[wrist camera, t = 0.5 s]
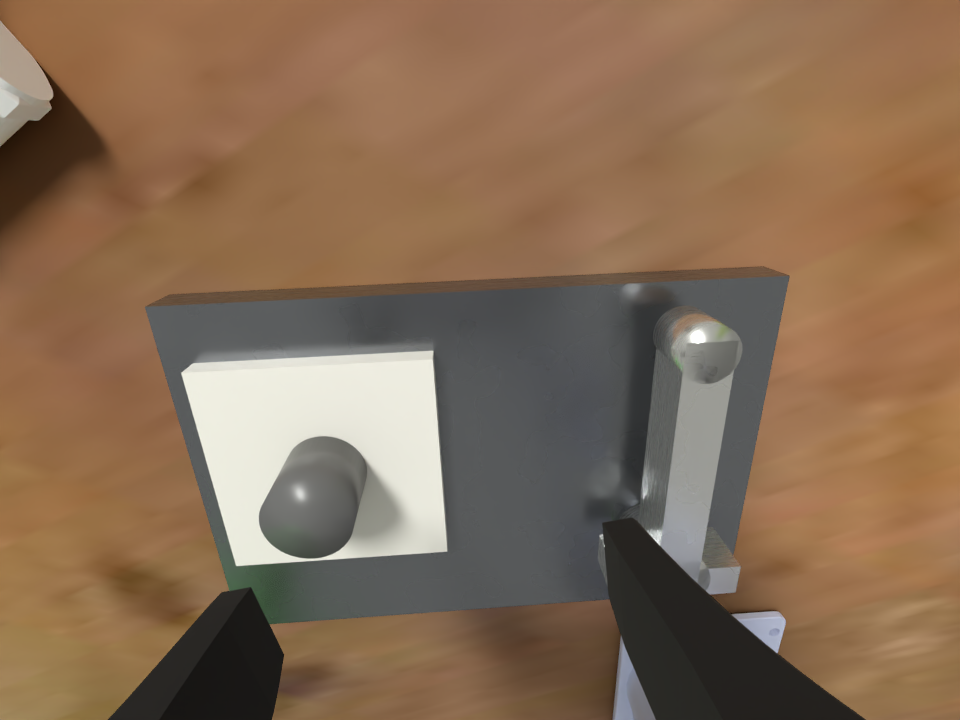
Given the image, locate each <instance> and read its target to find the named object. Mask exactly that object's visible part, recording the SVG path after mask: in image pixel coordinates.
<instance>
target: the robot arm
mask: <svg viewBox="0 0 960 720" xmlns="http://www.w3.org/2000/svg"><path fill="white" fill-rule="evenodd" d="M602 527H603V538H604V550H605V561H606V572H607V584H608V595H609V599H610V602H611V605H612V608H613V611H614V615H615V618H616V621H617V624H618V627H619V630H620V633H621V640H620V649H619V659H618V669H617V679H616V689H615V699H614V709H613V719H612V720H866V719H864V718H863V717H861V716H860V715H859V714H857V713H856V712H854V711H853V710H852V709H850V708H849V707H847V706H846V705H845V704H843V703H842V702H841V701H839V700H838V699H836V698H835V697H834V696H832V695H831V694H829V693H828V692H827V691H825V690H824V689H823V688H821V687H820V686H819V685H817V684H816V683H815V682H813V681H812V680H811V679H810V678H808V677H807V676H806V675H804V674H803V673H802V672H800V671H799V670H798V669H796V668H795V667H794V666H793V665H791V664H790V663H789V662H787V661H786V660H785V659H784V658H782V657H781V656H780V655H779V654H778V650H779V646H780V642H781V639H782V635H783V631H784V628H785V624H786V620H785V619H784V617H783V616H782V614H781V613H780V612H778V611H768V612H754V613H741V614H730V613H729V612H728V611H727V610H726V609H725V608H724V607H722V606H721V605H720V604H719V603H718V602H717V601H716V600H715V599H714V598H713V597H712V596H711V595H710V594H708V593H707V592H706V591H705V590H704V589H703V588H702V587H701V586H700V585H699V584H698V583H697V582H696V581H695V580H694V579H692V578H691V577H690V576H689V575H688V574H687V573H686V572H685V571H684V570H683V569H682V568H681V567H680V566H679V565H678V564H677V563H676V562H675V561H674V560H673V559H672V558H671V557H670V556H669V555H668V554H667V553H666V551H665V550H664V549H663V548H662V547H661V546H660V545H659V544H658V543H657V542H656V541H655V540H654V539H653V538H652V537H651V536H650V534H649V533H648V532H647V531H646V530H645V529H644V528H643V527H642V526H641V524H640V523H639V522H638V521H637V520H635V519H634V518H632V517H631V518H626V519H620V520H615V521H609V522H604V523H602ZM283 658H284V654H283V652H282V650H281V648H280V646H279V644H278V641H277V639H276V637H275V635H274V633H273V631H272V629H271V627H270V625H269V623H268V621H267V619H266V617H265V615H264V613H263V610H262V608H261V606H260V604H259V602H258V600H257V598H256V596H255V594H254V592H253V590H252V588H251V587H248V588H243V589H237V590H232V591H227V592H222V593H221V594H220V595H219V596H218V597H217V598H216V599H215V600H214V601H213V602H212V603H211V604H210V605H209V607H208V608H207V609H206V610H205V611H204V612H203V613H202V614H201V616H200V617H199V618H198V619H197V620H196V621H195V622H194V624H193V625H192V626H191V627H190V628H189V629H188V630H187V632H186V633H185V634H184V635H183V636H182V637H181V638H180V640H179V641H178V642H177V643H176V644H175V645H174V646H173V648H172V649H171V650H170V651H169V652H168V653H167V655H166V656H165V657H164V658H163V659H162V660H161V661H160V662H159V664H158V665H157V666H156V667H155V668H154V669H153V670H152V671H151V673H150V674H149V675H148V676H147V677H146V678H145V679H144V681H143V682H142V683H141V684H140V685H139V686H138V687H137V688H136V690H135V691H134V692H133V693H132V694H131V695H130V696H129V697H128V699H127V700H126V701H125V702H124V703H123V704H122V705H121V706H120V707H119V708H118V709H117V710H116V712H115V713H114V714H113V715H112V716H111V717H110V718H109V719H108V720H272V716H273V713H274V708H275V703H276V698H277V693H278V688H279V682H280V676H281V670H282V664H283Z"/></svg>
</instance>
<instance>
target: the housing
mask: <svg viewBox="0 0 960 720" xmlns="http://www.w3.org/2000/svg"><path fill="white" fill-rule="evenodd" d="M788 281H789V275H786V274H783V273H780V272H777V271H775V270H772V269H769V268H766V267H744V268H723V269H702V270H681V271H659V272H638V273H617V274H596V275H575V276H554V277H533V278H511V279H490V280H469V281H448V282H427V283H406V284H385V285H363V286H342V287H321V288H300V289H279V290H258V291H237V292H215V293H194V294H173V295H168V296H166V297H164V298H162V299H160V300H158V301H156V302H154V303H152V304H150V305H148V306H146V307H145V309H146V312H147V315H148V319H149V322H150V325H151V329H152V332H153V335H154V339H155V342H156V345H157V349H158V352H159V356H160V359H161V362H162V366H163V369H164V372H165V376H166V379H167V382H168V386H169V389H170V392H171V396H172V399H173V402H174V406H175V409H176V413H177V416H178V419H179V423H180V426H181V429H182V433H183V436H184V439H185V443H186V446H187V449H188V453H189V456H190V459H191V463H192V466H193V470H194V473H195V476H196V480H197V483H198V486H199V490H200V493H201V496H202V500H203V503H204V506H205V510H206V513H207V517H208V520H209V523H210V527H211V530H212V533H213V537H214V540H215V543H216V547H217V550H218V553H219V557H220V560H221V563H222V567H223V570H224V574H225V577H226V580H227V584H228V587H229V590H230V591H232V590H237V589H243V588H248V587H251V588H252V590H253V592H254V594H255V596H256V598H257V600H258V602H259V604H260V606H261V608H262V610H263V613H264V615H265V617H266V619H267V621H268V623H269V624H277V623H291V622H304V621H318V620H332V619H345V618H359V617H373V616H386V615H400V614H414V613H428V612H441V611H455V610H469V609H482V608H496V607H510V606H524V605H537V604H551V603H565V602H578V601H592V600H606V599H609V595H608V586H607V583H606V581H605V578H604V575H603V573H602V570H601V567H600V564H599V562H598V546H599V535H602V534H603V527H602V523H604V522H609V521H615V520H618V519H619V518H620V516H621V515H622V514H623V512H625V511H626V510H627V509H628V508H629V507H631V506H633V505H635V504H638V503H640V498H641V489H642V479H643V470H644V460H645V451H646V441H647V432H648V423H649V413H650V404H651V394H652V385H653V375H654V366H655V356H656V346H655V344H654V340H653V332H654V328H655V326H656V323H657V322H658V320H659V319H660V317H661V316H662V315H663V314H664V313H666V312H667V311H668V310H670V309H672V308H674V307H677V306H682V305H689V306H694V307H696V308H698V309H700V310H701V311H703V312H705V313H706V314H708V315H710V316H711V317H713V318H714V319H716V320H718V321H719V322H721V323H723V324H724V325H726V326H727V327H729V328H731V329H732V330H734V331H735V332H736V333H737V334H738V336H739V337H740V339H741V342H742V355H741V359H740V361H739V363H738V365H737V367H736V368H735V369H734V373H733V379H732V385H731V390H730V396H729V402H728V408H727V414H726V420H725V425H724V431H723V437H722V443H721V449H720V455H719V460H718V466H717V472H716V478H715V484H714V490H713V495H712V501H711V507H710V513H709V519H708V525H707V527H713V528H714V529H715V531H716V532H717V534H718V535H719V536H720V538H721V539H722V541H723V542H724V543H725V545H726V546H727V548H728V549H729V550H730V552H731V553H732V555H733V554H734V549H735V544H736V539H737V534H738V529H739V524H740V519H741V514H742V509H743V504H744V499H745V494H746V489H747V484H748V479H749V474H750V469H751V464H752V459H753V454H754V450H755V445H756V440H757V435H758V430H759V425H760V420H761V415H762V410H763V405H764V400H765V395H766V390H767V385H768V380H769V375H770V370H771V365H772V360H773V355H774V350H775V345H776V340H777V335H778V330H779V325H780V320H781V315H782V311H783V306H784V301H785V296H786V291H787V286H788ZM416 351H434V364H435V378H436V391H437V404H438V418H439V431H440V444H441V458H442V471H443V484H444V498H445V511H446V525H447V552H435V553H421V554H406V555H391V556H377V557H362V558H347V559H333V560H318V561H304V562H289V563H274V564H260V565H245V566H236V564H235V560H234V557H233V553H232V550H231V546H230V543H229V539H228V536H227V532H226V529H225V525H224V522H223V518H222V515H221V511H220V508H219V504H218V501H217V497H216V494H215V490H214V487H213V483H212V480H211V476H210V473H209V469H208V466H207V462H206V459H205V455H204V452H203V448H202V444H201V441H200V437H199V434H198V430H197V427H196V423H195V420H194V416H193V413H192V409H191V406H190V402H189V399H188V395H187V392H186V388H185V385H184V381H183V378H182V374H181V373H182V372H183V371H184V370H185V369H187V368H188V367H189V366H190V365H191V364H193V363H207V362H226V361H245V360H264V359H283V358H302V357H321V356H340V355H359V354H378V353H397V352H416Z"/></svg>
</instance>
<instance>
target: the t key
mask: <svg viewBox="0 0 960 720" xmlns="http://www.w3.org/2000/svg"><path fill="white" fill-rule="evenodd" d="M653 340H654V344H655V346H656V356H655V366H654V375H653V385H652V394H651V404H650V413H649V423H648V432H647V441H646V451H645V460H644V470H643V479H642V489H641V498H640V503H638V504H635V505H633V506H631V507H629V508H628V509H627V510H626V511H625V512H623V514H622V515H621V516H620V518H619V519H618V520H620V519H626V518H631V517H632V518H634V519H635V520H637V521H638V522H639V523H640V524H641V526H642V527H643V528H644V529H645V530H646V531H647V532H648V533H649V534H650V536H651V537H652V538H653V539H654V540H655V541H656V542H657V543H658V544H659V545H660V546H661V547H662V548H663V549H664V550H665V551H666V553H667V554H668V555H669V556H670V557H671V558H672V559H673V560H674V561H675V562H676V563H677V564H678V565H679V566H680V567H681V568H682V569H683V570H684V571H685V572H686V573H687V574H688V575H689V576H690V577H691V578H692V579H694V580H695V581H696V582H697V583H698V584H699V585H700V586H701V587H702V588H703V589H704V590H705V591H706V592H707V593H708V594H722V593H735V592H736V587H737V583H738V578H739V573H740V568H741V566H740V565H739V563H738V562H737V560H736V559H735V557H734V556H733V555H732V553H731V552H730V550H729V549H728V548H727V546H726V545H725V543H724V542H723V541H722V539H721V538H720V536H719V535H718V534H717V532H716V531H715V529H714V528H713V527H707V525H708V519H709V513H710V507H711V501H712V495H713V490H714V484H715V478H716V472H717V466H718V460H719V455H720V449H721V443H722V437H723V431H724V425H725V420H726V414H727V408H728V402H729V396H730V390H731V385H732V379H733V373H734V369H735V368H736V367H737V365H738V363H739V361H740V359H741V355H742V342H741V339H740V337H739V336H738V334H737V333H736V332H735V331H734V330H732V329H731V328H729V327H727V326H726V325H724V324H723V323H721V322H719V321H718V320H716V319H714V318H713V317H711V316H710V315H708V314H706V313H705V312H703V311H701V310H700V309H698V308H696V307H694V306H689V305H682V306H677V307H674V308H672V309H670V310H668V311H667V312H666V313H664V314H663V315H662V316H661V317H660V319H659V320H658V322H657V323H656V326H655V328H654V332H653ZM598 562H599V564H600V567H601V570H602V573H603V575H604V578H605V581H606V583H607V572H606V561H605V550H604V538H603V534H602V535H599V546H598ZM607 586H608V584H607Z"/></svg>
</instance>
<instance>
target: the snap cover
mask: <svg viewBox="0 0 960 720" xmlns="http://www.w3.org/2000/svg"><path fill="white" fill-rule="evenodd" d="M181 374H182V378H183V381H184V385H185V388H186V392H187V395H188V399H189V402H190V406H191V409H192V413H193V416H194V420H195V423H196V427H197V430H198V434H199V437H200V441H201V444H202V448H203V452H204V455H205V459H206V462H207V466H208V469H209V473H210V476H211V480H212V483H213V487H214V490H215V494H216V497H217V501H218V504H219V508H220V511H221V515H222V518H223V522H224V525H225V529H226V532H227V536H228V539H229V543H230V546H231V550H232V553H233V557H234V560H235V564H236V566H245V565H260V564H274V563H289V562H304V561H318V560H333V559H347V558H362V557H377V556H391V555H406V554H421V553H435V552H447V525H446V511H445V498H444V484H443V471H442V458H441V444H440V431H439V418H438V404H437V391H436V378H435V364H434V351H416V352H397V353H378V354H359V355H340V356H321V357H302V358H283V359H264V360H245V361H226V362H207V363H193V364H191V365H190V366H189V367H188V368H187V369H185V370H184V371H183V372H182V373H181Z"/></svg>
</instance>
